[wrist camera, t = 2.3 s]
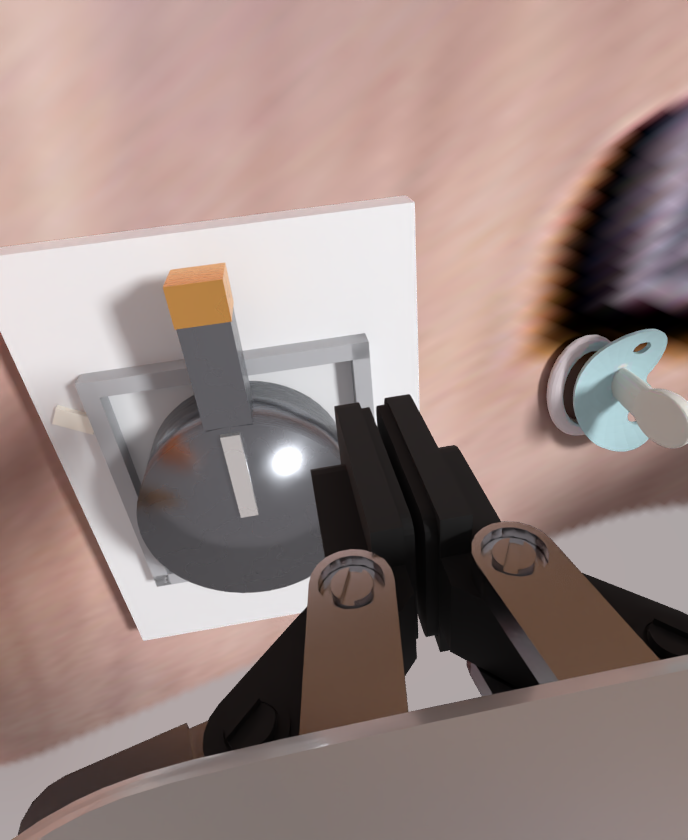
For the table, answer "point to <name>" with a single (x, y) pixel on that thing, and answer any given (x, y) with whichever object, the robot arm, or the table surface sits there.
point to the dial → (232, 457)
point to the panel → (166, 369)
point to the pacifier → (618, 394)
